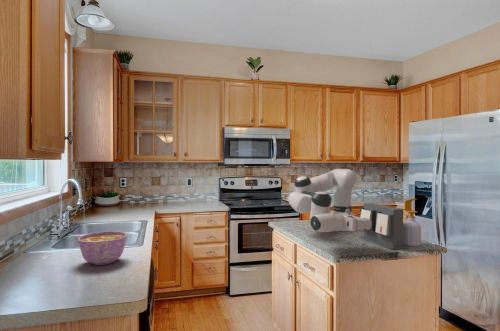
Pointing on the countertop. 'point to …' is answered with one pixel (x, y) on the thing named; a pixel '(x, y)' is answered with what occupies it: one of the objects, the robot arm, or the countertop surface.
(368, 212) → the block
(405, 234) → the soap bottle
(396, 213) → the power panel
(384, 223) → the block
